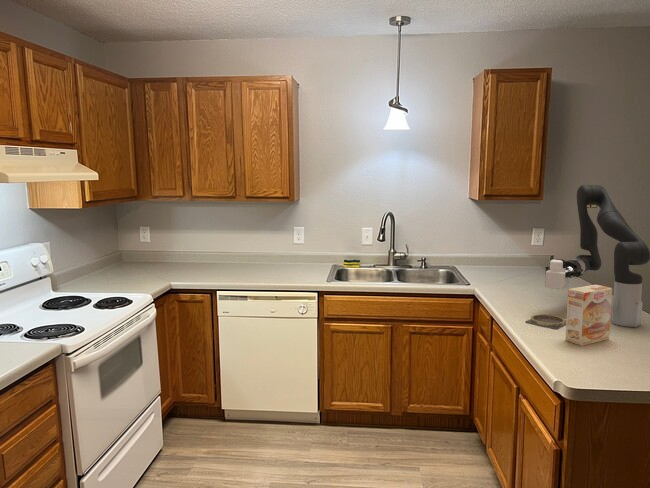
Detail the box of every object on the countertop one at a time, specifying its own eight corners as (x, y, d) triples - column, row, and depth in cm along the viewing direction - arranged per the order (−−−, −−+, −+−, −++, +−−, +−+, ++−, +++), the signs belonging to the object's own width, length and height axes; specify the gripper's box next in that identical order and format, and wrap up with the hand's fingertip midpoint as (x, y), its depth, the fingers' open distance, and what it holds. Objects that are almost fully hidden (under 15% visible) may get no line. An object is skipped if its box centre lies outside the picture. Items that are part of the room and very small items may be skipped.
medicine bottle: (551, 284, 204) (552, 257, 203) (568, 286, 199) (570, 259, 198) (545, 287, 200) (546, 259, 198) (562, 290, 194) (563, 261, 193)
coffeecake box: (581, 346, 166) (584, 292, 163) (564, 340, 172) (566, 288, 170) (610, 339, 172) (613, 287, 169) (592, 333, 178) (595, 283, 175)
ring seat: (570, 322, 192) (570, 318, 192) (556, 329, 184) (556, 325, 184) (539, 316, 202) (539, 312, 201) (525, 322, 194) (525, 318, 193)
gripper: (556, 257, 213) (539, 263, 203) (590, 261, 202) (574, 267, 192) (556, 273, 214) (539, 279, 204) (589, 278, 203) (573, 285, 193)
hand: (556, 273), depth 198 cm, fingers closed on medicine bottle, 7 cm apart
